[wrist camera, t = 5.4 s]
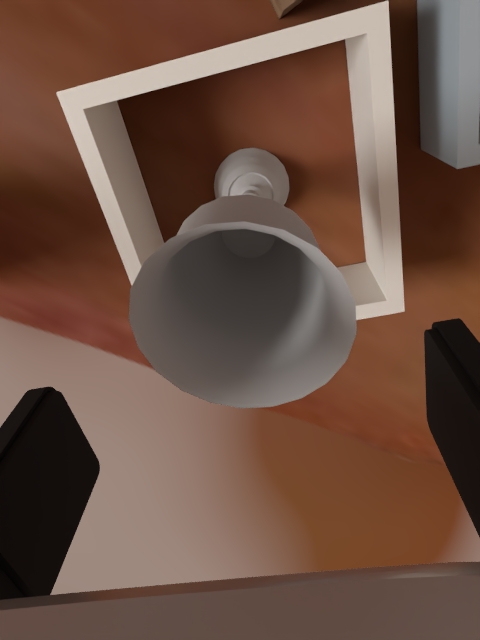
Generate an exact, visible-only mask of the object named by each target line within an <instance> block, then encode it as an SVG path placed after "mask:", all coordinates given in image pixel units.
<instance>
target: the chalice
mask: <svg viewBox="0 0 480 640" xmlns="http://www.w3.org/2000/svg"><path fill="white" fill-rule="evenodd" d="M214 191H215V198H216V200H214V201H211V202H209V203H206V204H204V205H201V206H200V207H199V208H198V209H197V210H196V211H194V212H193V213H192V214H191V215H190V216H189V217H188V218H187V219H185V220H184V222H183V224H182V226H181V227H180V229H179V231H178V233H177V235H176V236H175V237H172V238H170V239H169V240H168V241H167V242H166V243H164V244H163V245H162V246H161V247H160V248H159V249H158V250H156V251H155V252H154V253H153V254H152V255H151V256H150V257H149V258H147V259H146V260H145V261H144V263H143V265H142V267H141V269H140V271H139V273H138V275H137V277H136V279H135V281H134V283H133V285H132V287H131V289H130V307H129V322H130V325H131V328H132V330H133V333H134V336H135V339H136V342H137V345H138V348H139V349H140V351H141V352H142V353H143V355H144V356H145V357H146V358H147V360H148V361H149V362H150V364H151V365H152V366H153V368H154V369H155V370H156V371H157V372H158V373H159V374H160V375H162V376H163V377H164V378H166V379H167V380H168V381H170V382H171V383H172V384H174V385H175V386H176V387H178V388H179V389H180V390H182V391H184V392H187V393H189V394H191V395H194V396H196V397H199V398H201V399H203V400H206V401H208V402H211V403H216V404H221V405H227V406H232V407H238V408H254V407H273V406H276V405H280V404H283V403H287V402H290V401H294V400H297V399H301V398H303V397H304V396H306V395H308V394H309V393H311V392H313V391H314V390H316V389H318V388H319V387H321V386H323V385H324V384H326V383H327V382H328V381H329V380H330V379H331V378H332V377H333V376H334V374H335V373H336V372H337V371H338V370H339V369H340V367H341V366H342V365H343V364H344V363H345V362H346V361H347V358H348V355H349V352H350V350H351V347H352V344H353V342H354V339H355V336H356V333H357V328H356V305H355V301H354V298H353V296H352V294H351V292H350V290H349V288H348V285H347V283H346V281H345V279H344V277H343V274H342V273H341V272H340V271H339V270H338V269H337V268H336V266H335V265H334V264H333V263H332V262H331V261H330V260H329V259H328V258H327V257H326V256H325V255H324V254H323V253H322V252H321V251H320V248H319V246H318V244H317V242H316V240H315V238H314V235H313V233H312V231H311V229H310V228H309V227H308V226H307V225H306V223H305V222H304V221H303V220H302V219H301V218H300V217H299V216H298V215H297V214H296V213H295V212H294V211H292V210H290V209H289V208H287V207H285V206H284V204H285V203H286V201H287V197H288V193H289V177H288V175H287V172H286V170H285V167H284V165H283V164H282V163H281V162H280V161H279V160H278V158H277V157H276V156H274V155H273V154H271V153H269V152H267V151H266V150H262V149H257V148H246V149H240V150H238V151H236V152H234V153H232V154H230V155H229V156H228V157H227V158H226V159H225V160H224V161H223V162H222V163H221V164H220V166H219V168H218V170H217V172H216V174H215V181H214Z"/></svg>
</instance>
